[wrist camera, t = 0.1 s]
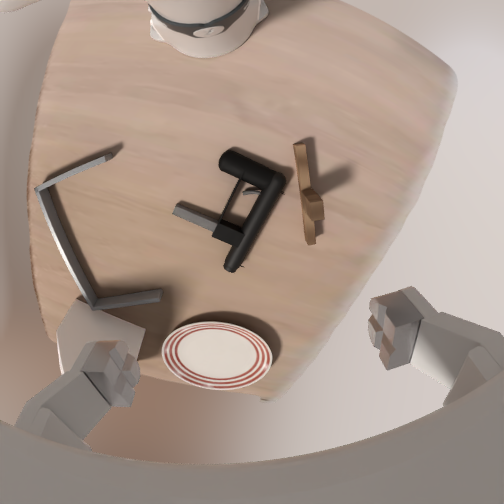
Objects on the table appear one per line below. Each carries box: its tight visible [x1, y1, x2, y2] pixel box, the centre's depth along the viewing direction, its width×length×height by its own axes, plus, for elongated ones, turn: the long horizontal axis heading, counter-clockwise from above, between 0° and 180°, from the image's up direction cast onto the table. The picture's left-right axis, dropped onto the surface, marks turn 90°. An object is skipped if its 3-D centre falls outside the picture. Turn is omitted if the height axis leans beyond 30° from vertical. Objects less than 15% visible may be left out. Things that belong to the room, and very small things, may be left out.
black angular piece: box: [172, 150, 286, 273], centre depth 46 cm, size 3×20×16 cm
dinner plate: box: [162, 321, 272, 390], centre depth 64 cm, size 28×27×3 cm
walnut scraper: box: [293, 143, 324, 245], centre depth 43 cm, size 18×2×8 cm, turn 10°
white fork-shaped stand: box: [57, 299, 146, 374], centre depth 50 cm, size 19×15×25 cm
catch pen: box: [34, 153, 163, 311], centre depth 47 cm, size 30×18×3 cm, turn 10°
